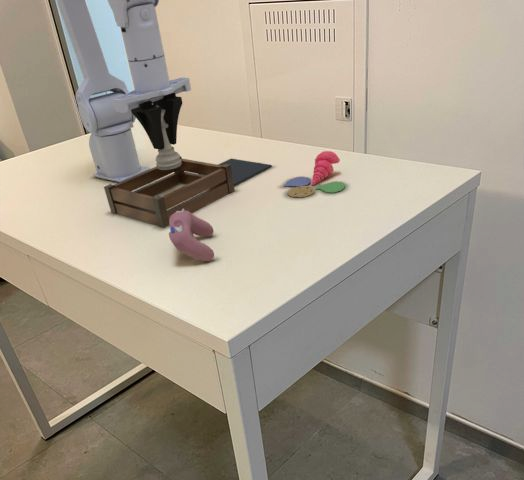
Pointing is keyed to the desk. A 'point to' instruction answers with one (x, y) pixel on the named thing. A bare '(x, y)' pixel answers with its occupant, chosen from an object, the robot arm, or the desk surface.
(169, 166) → the chess piece
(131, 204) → the crate
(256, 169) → the mat
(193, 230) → the video game controller
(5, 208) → the desk surface
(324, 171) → the toy pieces
